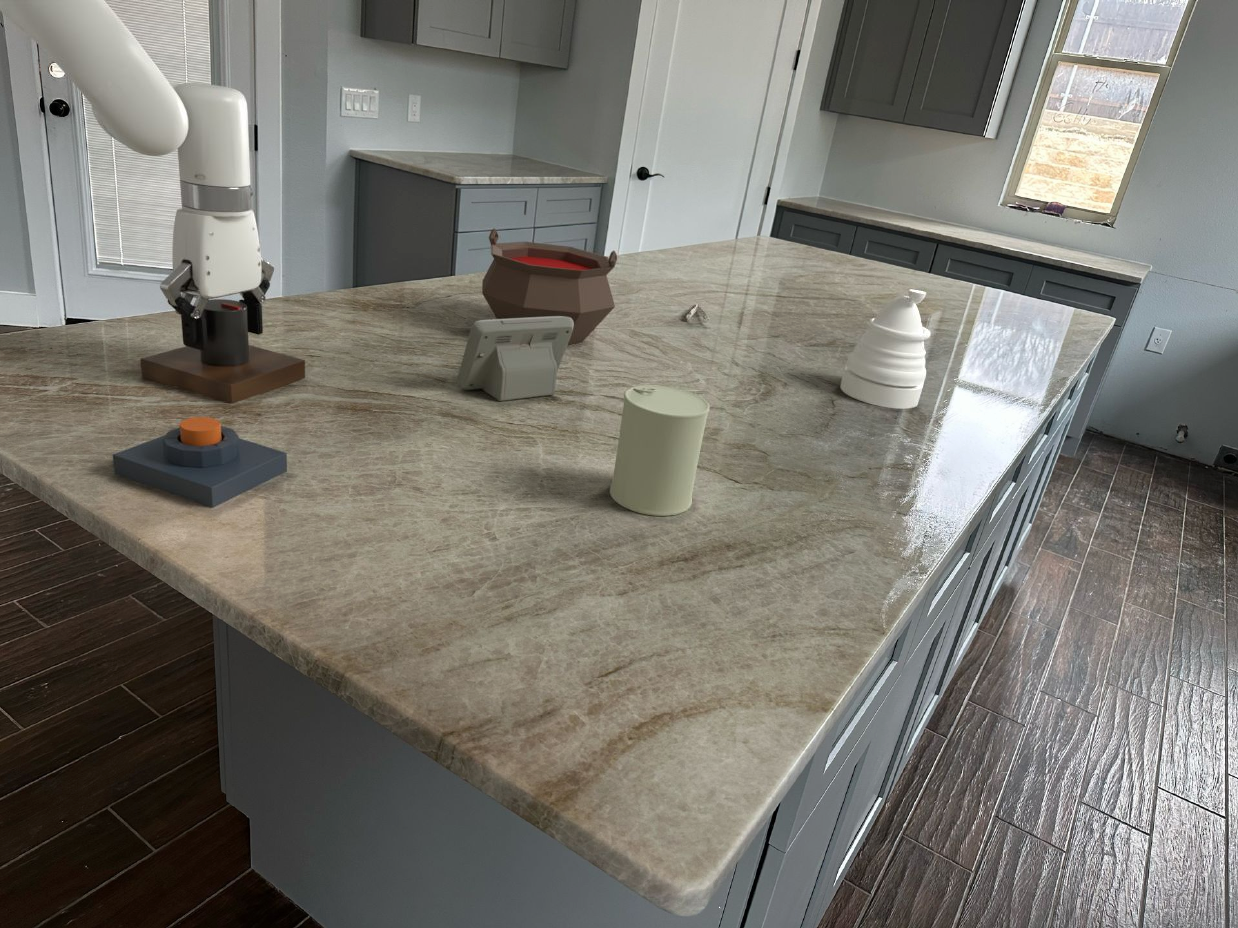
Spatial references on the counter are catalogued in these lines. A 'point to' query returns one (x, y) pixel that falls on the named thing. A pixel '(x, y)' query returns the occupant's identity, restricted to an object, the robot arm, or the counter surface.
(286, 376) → the swivel stand
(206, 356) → the dark grey cylinder
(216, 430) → the alarm button
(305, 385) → the counter surface
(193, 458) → the alarm button base
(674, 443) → the can
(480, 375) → the digital clock
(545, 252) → the brown cauldron
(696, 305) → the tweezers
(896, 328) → the honey pot
